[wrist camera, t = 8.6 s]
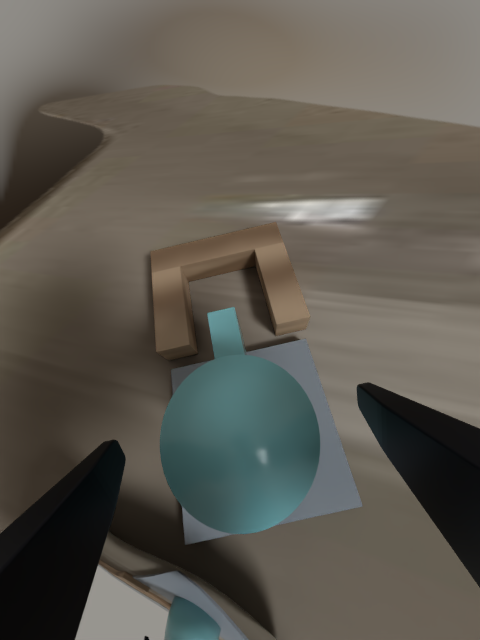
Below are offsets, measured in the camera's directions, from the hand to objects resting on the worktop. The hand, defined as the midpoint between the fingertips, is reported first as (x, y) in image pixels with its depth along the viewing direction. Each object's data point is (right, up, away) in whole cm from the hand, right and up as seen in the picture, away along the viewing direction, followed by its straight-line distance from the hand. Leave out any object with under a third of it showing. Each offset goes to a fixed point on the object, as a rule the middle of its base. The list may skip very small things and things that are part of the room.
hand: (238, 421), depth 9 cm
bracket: (-1, +5, +14) cm, 15 cm away
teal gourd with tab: (+1, -3, +9) cm, 9 cm away
